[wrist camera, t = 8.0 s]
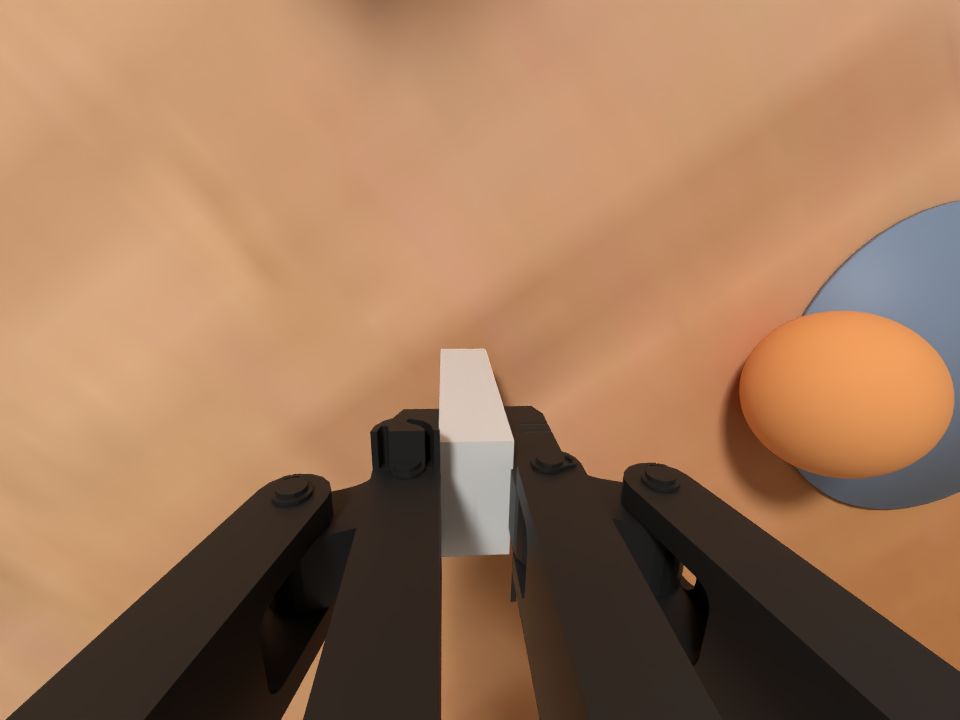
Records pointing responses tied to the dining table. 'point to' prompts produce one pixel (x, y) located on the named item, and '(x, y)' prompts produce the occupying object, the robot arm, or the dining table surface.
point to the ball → (846, 394)
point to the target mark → (925, 310)
